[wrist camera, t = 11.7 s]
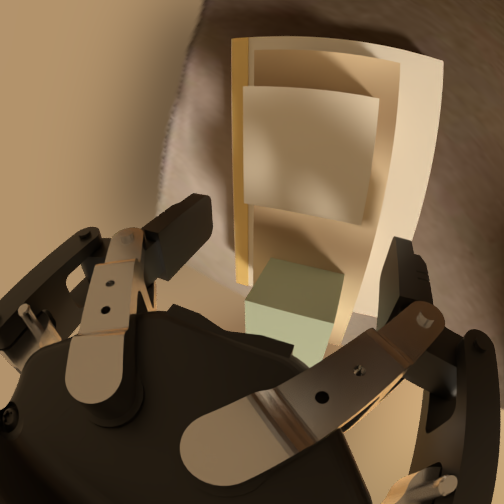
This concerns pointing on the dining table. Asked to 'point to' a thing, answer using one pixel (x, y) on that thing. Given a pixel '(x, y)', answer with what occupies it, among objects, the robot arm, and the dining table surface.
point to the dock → (402, 160)
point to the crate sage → (295, 307)
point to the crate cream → (308, 150)
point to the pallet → (362, 237)
